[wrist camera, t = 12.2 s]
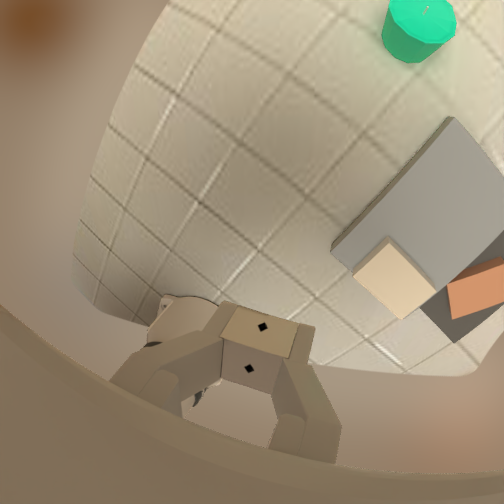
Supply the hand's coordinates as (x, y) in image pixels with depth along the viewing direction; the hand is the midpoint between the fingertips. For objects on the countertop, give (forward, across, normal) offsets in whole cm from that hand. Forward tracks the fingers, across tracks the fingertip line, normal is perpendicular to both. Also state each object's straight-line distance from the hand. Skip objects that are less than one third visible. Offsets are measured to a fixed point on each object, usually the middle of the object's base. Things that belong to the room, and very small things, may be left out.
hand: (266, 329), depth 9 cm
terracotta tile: (+27, -24, +9) cm, 37 cm away
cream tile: (+26, -11, +10) cm, 30 cm away
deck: (+28, -14, +3) cm, 31 cm away
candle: (+28, -6, -18) cm, 34 cm away
